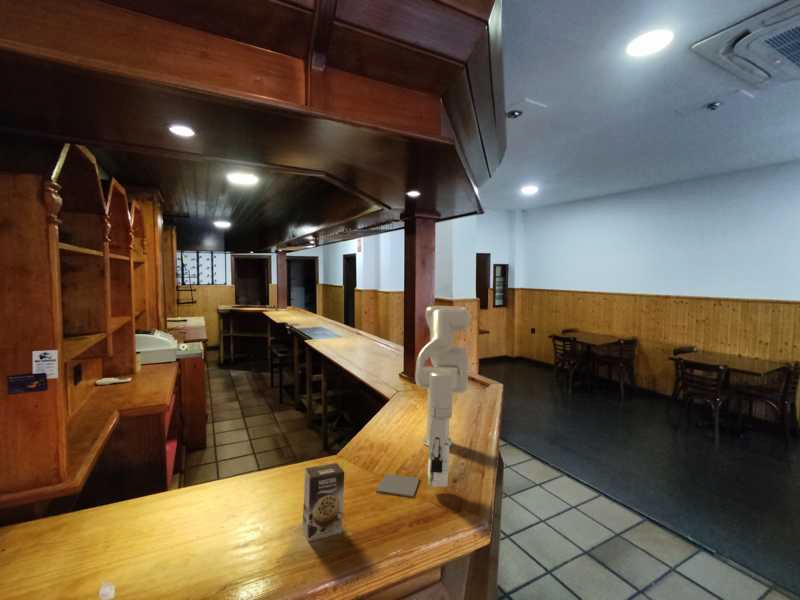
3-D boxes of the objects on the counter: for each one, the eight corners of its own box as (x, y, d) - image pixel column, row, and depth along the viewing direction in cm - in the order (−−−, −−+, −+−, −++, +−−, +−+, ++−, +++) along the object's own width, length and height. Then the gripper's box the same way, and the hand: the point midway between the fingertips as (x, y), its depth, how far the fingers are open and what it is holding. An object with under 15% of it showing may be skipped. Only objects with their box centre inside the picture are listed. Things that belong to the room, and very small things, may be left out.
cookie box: (307, 542, 94) (310, 478, 94) (301, 528, 99) (304, 467, 99) (343, 533, 98) (345, 471, 98) (335, 520, 103) (337, 461, 103)
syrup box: (427, 478, 123) (428, 433, 122) (445, 477, 123) (446, 433, 123) (429, 487, 117) (431, 440, 116) (448, 486, 117) (450, 440, 117)
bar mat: (385, 475, 131) (385, 473, 131) (419, 479, 128) (419, 478, 128) (376, 492, 119) (376, 490, 119) (413, 497, 117) (413, 495, 117)
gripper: (431, 402, 129) (430, 453, 129) (424, 418, 112) (422, 477, 112) (454, 404, 127) (452, 456, 127) (449, 421, 110) (447, 481, 110)
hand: (438, 465), depth 120 cm, fingers closed on syrup box, 6 cm apart
